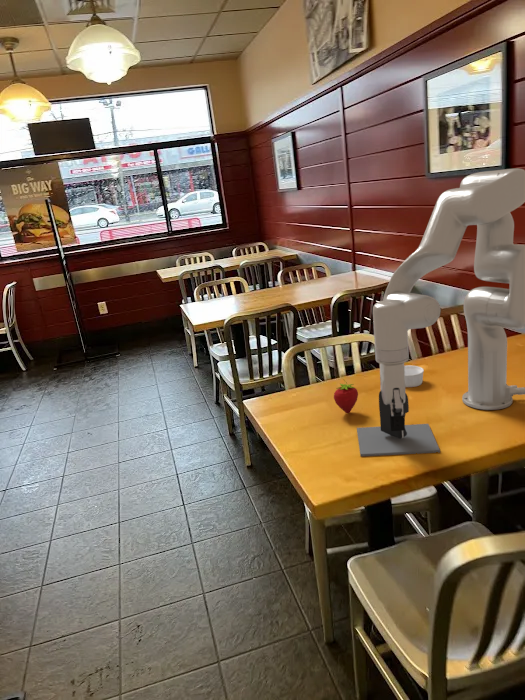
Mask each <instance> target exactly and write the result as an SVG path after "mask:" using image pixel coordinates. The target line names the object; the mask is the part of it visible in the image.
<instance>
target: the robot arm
mask: <svg viewBox="0 0 525 700" xmlns="http://www.w3.org/2000/svg"><path fill="white" fill-rule="evenodd" d="M524 203H525V169H523V168H517V167H516V168H506V169H504V168H503V169H497V170H496V169H495V170H486V171H479V172H474V173H471V174H469V175H466V176H465V177H464V178H463V179H462V180H461V182H460V184H459V187H456V188H451V189H450V188H449V189H447V190H445V191H443V192H442V193H441V194H440V195H439V197H438V198H437V200H436V202H435V205H434V207H433V210H432V212H431V215H430V218H429V220H428V223H427V226H426V228H425V231H424V233H423V235H422V237H421V238H422V239H421V241H420V243H419V245H418V247H417V248H416V249H415V251H414V252H412V253H411V254H410V255H409V256H408V257H406V259H405V260H404V261H403V262H402V263H401V264H400V265H399V266H398V267H397V269H396V270H394V272H393V274H392V275H391V277H390V278H389V282H388V285H387V287H386V289H385V291H384V294H383V298H382V300H380V301H378V302H376V303H375V304H374V305H373V307H372V320H373V322H372V323H373V335H374V336H373V338H374V353H375V361H376V363H378V364H379V379H380V391H381V393H382V399H383V402H384V404H385V405H387V404H390V410H391V415H390V429H391V431H403V430H405V425H406V424H405V425H404V414H403V405H402V403H403V404H404V403H405V398H406V397H405V393H406V387H405V371H404V366H405V363H406V362H408V361H409V360H410V357H409V353H410V352H409V337H408V336H409V335H408V331H410V330H415V329H416V330H417V329H424V328H427V327H430V326H432V325H434V324H435V323H436V322H437V321H438V320H439V318H440V316H441V310H442V309H441V305H440V302H439V301H438V300H437V299H436V298H434V297H433V296H430V295H426V294H419V293H414V292H412V289H413V288H414V286H415V284H416V283H417V282H418V281H419V280H420V279H421V278H423V277H424V276H425V275H427V274H429V273H431V272H433V271H435V270H436V269H439V268H441V267H443V266H445V265H447V264H450V263H451V262H452V261H454V259H455V258H456V255H457V253H458V250H459V248H460V245H461V242H462V240H463V237H464V234H465V232H466V230H467V228H468V226H476V228H477V229H476V242H475V251H474V262H473V272H474V275H475V277H476V278H477V279H478V280H481V281H485V282H491V283H501V284H509V287H508V288H503V287H495V286H478V287H475V288H472V289H471V290H469V291H468V292H467V294H466V295H465V297H464V301H463V313H464V317H465V321H466V328H467V372H468V373H467V383H468V386H467V388H468V389H467V391H466V392H464V393H463V394H462V397H461V398H462V403H463V404H465V405H466V406H468V407H470V408H473V409H476V410H484V411H497V410H501V409H506V408H509V407H510V406H511V405H512V404H513V401H514V400H513V397H514V395H517V396H518V395H519V396H521V395H523V396H524V395H525V387H524V386H522V387H518V385H516V384H515V385H514V384H512V385H509V384H507V371H508V370H507V369H508V367H507V365H508V364H507V363H508V361H507V359H508V358H507V357H508V337H507V333H506V331H505V329H504V328H507V329H514V330H520V329H521V330H522V329H525V244H517V243H515V244H514V233H515V232H514V231H515V221H514V218H513V215H512V214H511V212H513V211H515V210H516V209H518V208H520V207H521V206H523V204H524ZM392 400H394V402H395V403H392ZM393 405H395V408H394V409H393Z"/></svg>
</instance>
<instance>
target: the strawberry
mask: <svg viewBox="0 0 525 700" xmlns="http://www.w3.org/2000/svg"><path fill="white" fill-rule="evenodd" d="M343 381H344V383H345V384H344V383H339V385H340V386H339V387H336V390H335V391H334V392H333V399H334V402H335V404H336V405H337V406H338V408H339V409H340V410H342V411H343V412H344V413H345V414H349V413H351V411H352V410H353V408H354V407H355V405H356V403H357V401H358V399H359V398H358V397H359V393H358V389H357V388H356V387H355V386H354V383H349V384H348V383H347V381H346V380H345V379H343Z"/></svg>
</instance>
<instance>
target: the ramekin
mask: <svg viewBox="0 0 525 700" xmlns="http://www.w3.org/2000/svg"><path fill="white" fill-rule="evenodd" d="M404 371H405V388H413V387H414V388H415V387H418V386H421V385H422V384H423V381H424V380H423V377H424V372H425V371H424V367H421V366H418V365H411V364H409V365H404Z"/></svg>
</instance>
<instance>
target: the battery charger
mask: <svg viewBox="0 0 525 700" xmlns="http://www.w3.org/2000/svg"><path fill="white" fill-rule="evenodd" d="M405 397H406V398H405V403H404V404H403V403H402V405H403V414H404V425H406V424H405V423H406V420H405V419H406V414H407V413H409V411H410V407H409V396H408V395H407V393H406V392H405ZM392 403H395V402H394V400H392ZM394 408H395V405H393V409H394ZM378 409H379V411H378V412H379V422H380V427H381V431H383V432H385V433H387V434H389V435H391V436H394V437H397V438H400V439H401V438H403V437H405V436H406V435H407V432H406V430H403V431H391V429H390V415H391V410H390V404H387V405H385V404H384V402H383V399H382V393H381V390H380V391H379V393H378Z"/></svg>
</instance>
